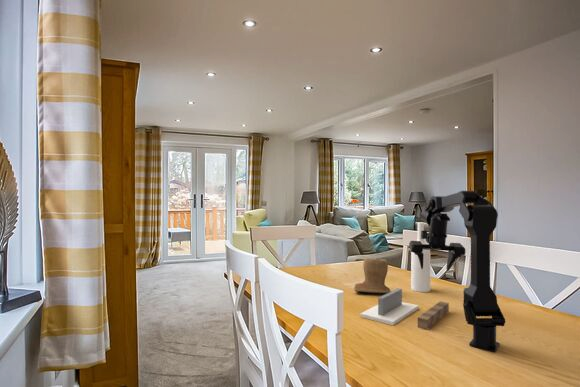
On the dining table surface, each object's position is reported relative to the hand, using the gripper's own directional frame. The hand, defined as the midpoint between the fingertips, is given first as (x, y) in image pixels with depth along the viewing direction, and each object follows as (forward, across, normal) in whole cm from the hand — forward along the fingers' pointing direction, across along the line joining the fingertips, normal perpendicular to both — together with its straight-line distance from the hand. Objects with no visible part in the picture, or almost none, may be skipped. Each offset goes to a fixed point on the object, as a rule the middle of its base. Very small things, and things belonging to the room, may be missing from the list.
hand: (434, 269), depth 131 cm
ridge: (+13, +17, +11) cm, 24 cm away
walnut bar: (+12, +3, +15) cm, 19 cm away
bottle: (+19, -1, -21) cm, 29 cm away
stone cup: (+19, +21, -15) cm, 32 cm away
